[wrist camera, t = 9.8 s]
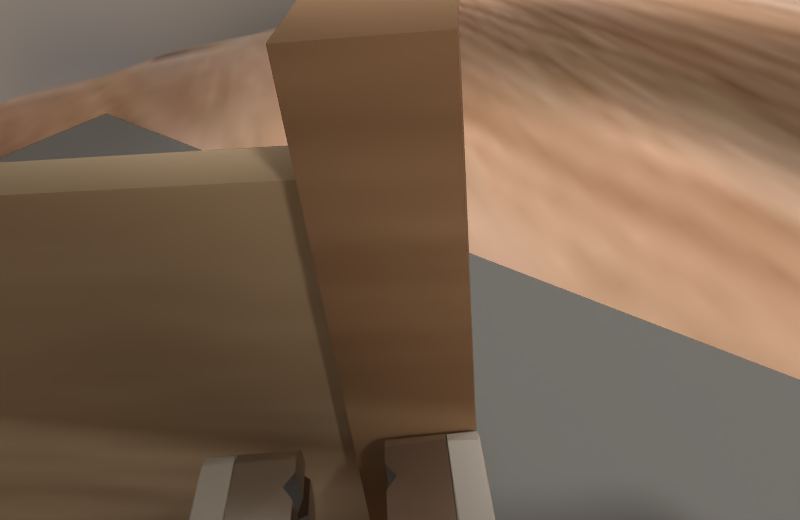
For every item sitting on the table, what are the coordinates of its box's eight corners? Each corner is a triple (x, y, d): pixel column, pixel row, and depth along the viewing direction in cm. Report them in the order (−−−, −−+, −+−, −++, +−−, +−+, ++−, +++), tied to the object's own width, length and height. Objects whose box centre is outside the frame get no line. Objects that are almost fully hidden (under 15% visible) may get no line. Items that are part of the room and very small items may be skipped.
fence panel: (-119, 498, 16) (-537, 64, 10) (479, 500, 15) (457, -21, 8) (-180, 575, 15) (-730, 120, 8) (482, 588, 13) (458, 29, 7)
